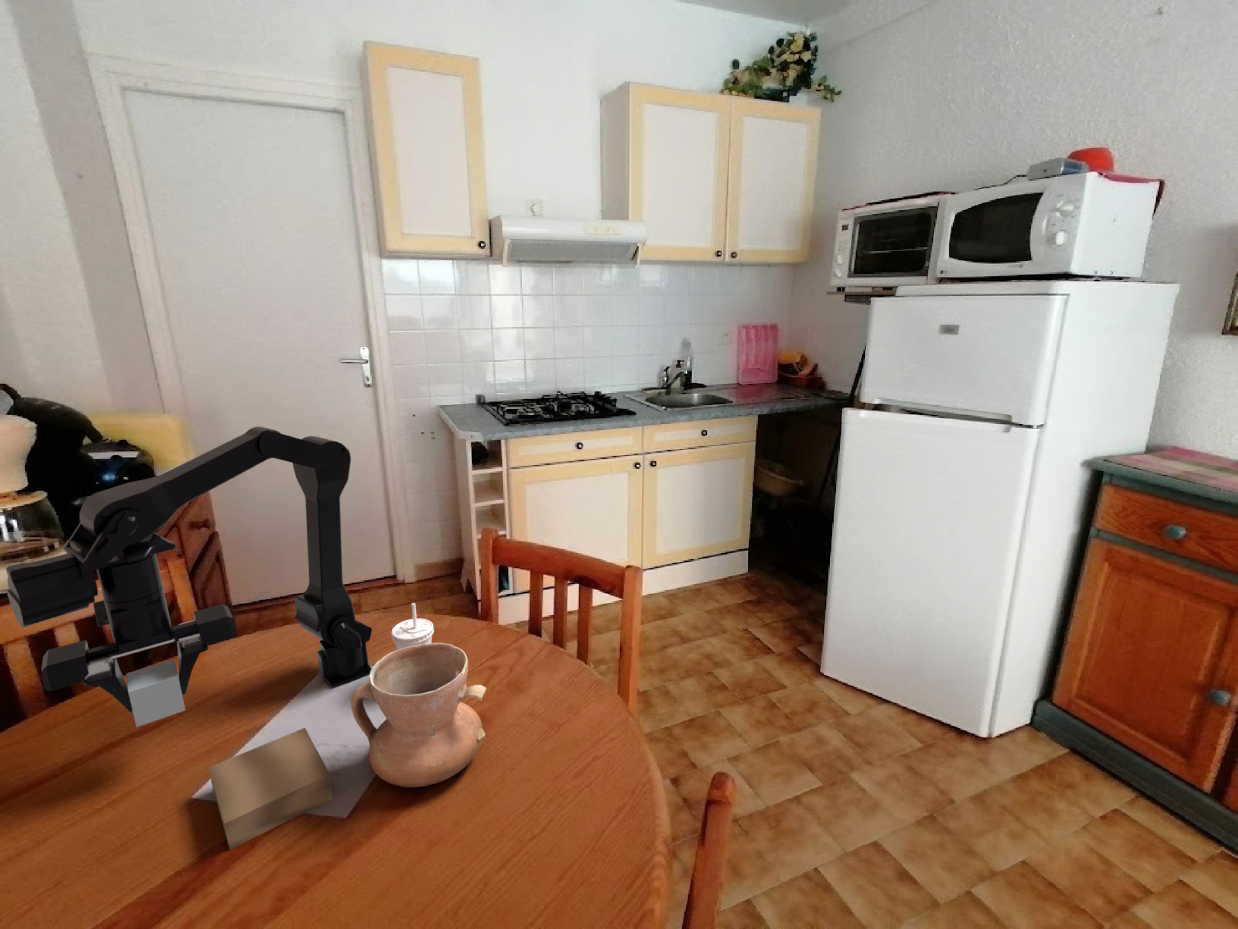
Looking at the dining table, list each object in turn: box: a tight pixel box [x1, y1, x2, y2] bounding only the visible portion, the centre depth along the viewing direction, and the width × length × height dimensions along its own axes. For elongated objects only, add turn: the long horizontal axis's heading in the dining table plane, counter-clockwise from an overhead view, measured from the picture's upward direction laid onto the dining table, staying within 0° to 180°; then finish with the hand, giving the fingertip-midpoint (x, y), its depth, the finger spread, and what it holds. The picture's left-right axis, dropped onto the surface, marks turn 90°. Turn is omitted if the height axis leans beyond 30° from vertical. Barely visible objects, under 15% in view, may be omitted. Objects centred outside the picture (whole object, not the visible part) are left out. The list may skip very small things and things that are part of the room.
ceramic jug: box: [350, 642, 487, 788], centre depth 79 cm, size 18×14×14 cm
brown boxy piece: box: [208, 727, 334, 850], centre depth 74 cm, size 11×11×4 cm
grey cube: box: [126, 658, 186, 728], centre depth 77 cm, size 5×5×5 cm
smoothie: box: [391, 602, 435, 650], centre depth 95 cm, size 6×6×14 cm
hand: (158, 701), depth 77 cm, fingers closed on grey cube, 5 cm apart
